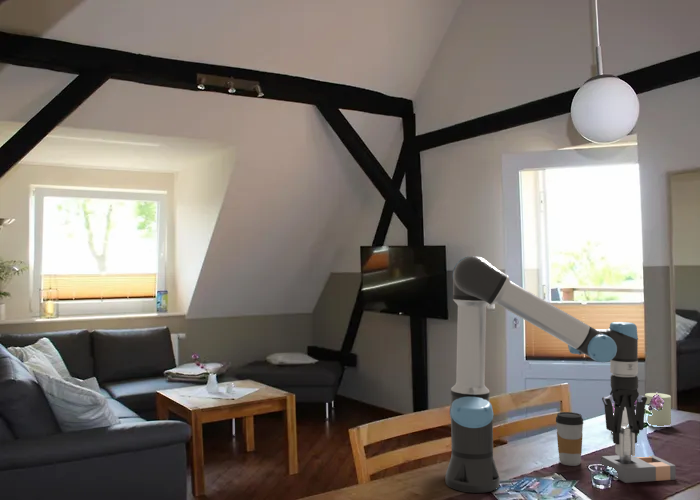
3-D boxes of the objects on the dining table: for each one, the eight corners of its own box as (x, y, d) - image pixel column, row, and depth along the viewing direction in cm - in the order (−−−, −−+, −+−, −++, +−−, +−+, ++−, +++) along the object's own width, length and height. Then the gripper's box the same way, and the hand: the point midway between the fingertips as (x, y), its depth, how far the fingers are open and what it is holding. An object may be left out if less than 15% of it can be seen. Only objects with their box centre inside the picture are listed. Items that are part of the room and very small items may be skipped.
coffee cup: (586, 467, 197) (585, 418, 198) (557, 466, 199) (557, 417, 199) (581, 459, 205) (581, 412, 206) (554, 458, 207) (554, 411, 207)
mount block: (625, 482, 184) (625, 468, 184) (601, 469, 195) (601, 456, 195) (675, 479, 186) (675, 465, 186) (649, 466, 198) (649, 453, 198)
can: (649, 427, 245) (648, 396, 245) (642, 421, 254) (641, 391, 254) (675, 428, 243) (674, 396, 243) (667, 422, 252) (666, 391, 252)
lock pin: (623, 477, 188) (623, 429, 189) (617, 473, 191) (616, 426, 192) (633, 476, 189) (633, 428, 189) (627, 473, 192) (626, 425, 192)
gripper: (606, 377, 186) (607, 460, 185) (657, 376, 188) (658, 456, 188) (592, 373, 193) (593, 452, 193) (641, 371, 196) (642, 449, 195)
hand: (625, 454), depth 190 cm, fingers closed on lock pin, 3 cm apart
